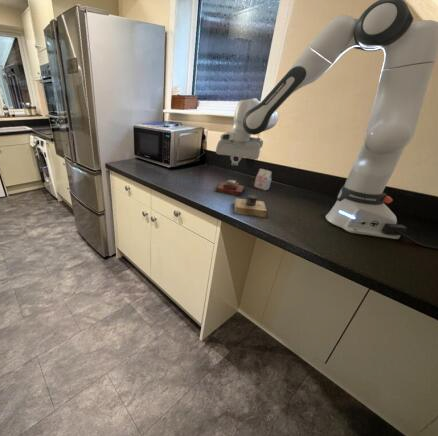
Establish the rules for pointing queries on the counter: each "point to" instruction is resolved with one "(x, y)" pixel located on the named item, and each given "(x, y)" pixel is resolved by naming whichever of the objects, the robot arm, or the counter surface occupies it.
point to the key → (231, 182)
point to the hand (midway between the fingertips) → (234, 165)
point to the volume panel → (250, 208)
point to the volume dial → (251, 200)
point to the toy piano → (230, 188)
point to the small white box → (263, 179)
